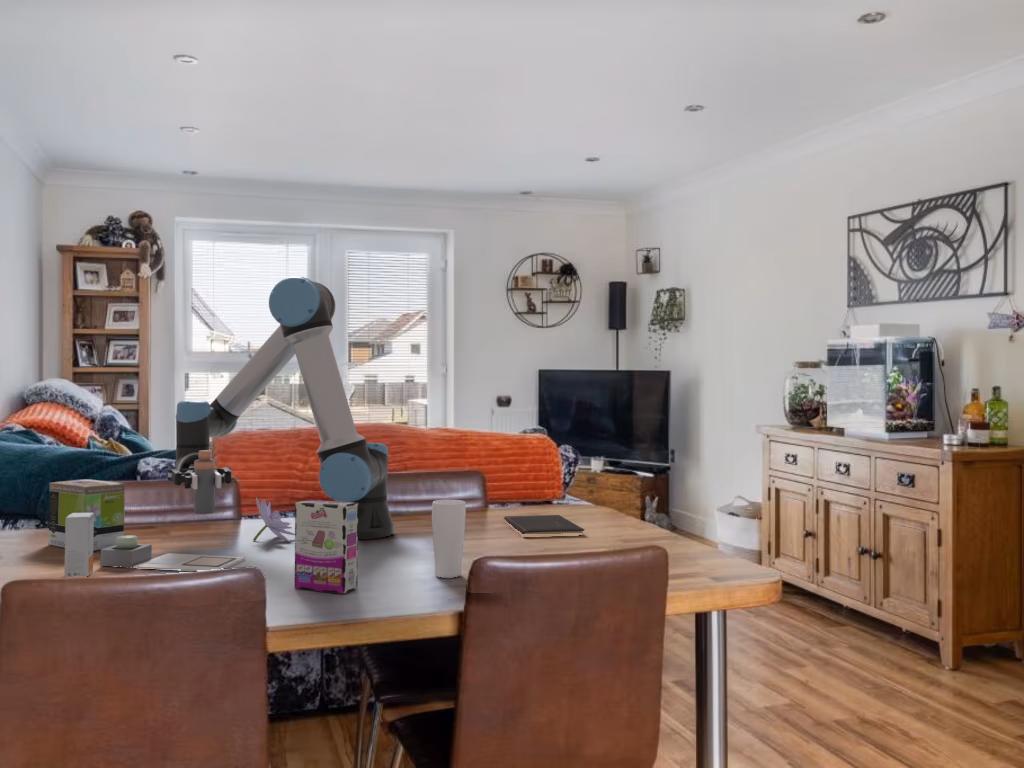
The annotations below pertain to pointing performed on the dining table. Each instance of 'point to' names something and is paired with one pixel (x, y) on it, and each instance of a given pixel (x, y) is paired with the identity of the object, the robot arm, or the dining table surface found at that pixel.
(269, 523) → the water lily
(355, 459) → the robot arm
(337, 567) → the candy bar box
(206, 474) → the grey and orange bottle
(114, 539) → the tea box
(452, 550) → the drinking glass
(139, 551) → the button housing
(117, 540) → the button
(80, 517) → the skincare box
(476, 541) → the dining table surface
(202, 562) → the board
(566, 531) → the hardcover book
